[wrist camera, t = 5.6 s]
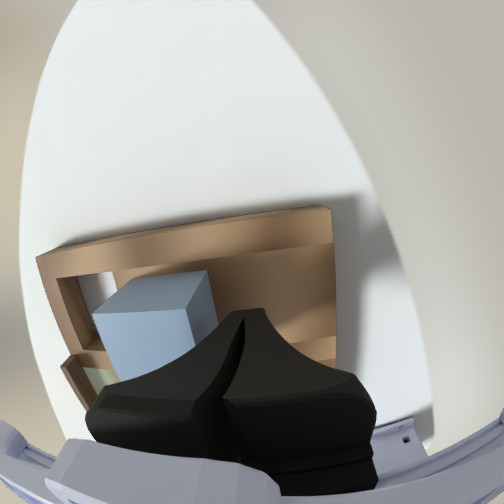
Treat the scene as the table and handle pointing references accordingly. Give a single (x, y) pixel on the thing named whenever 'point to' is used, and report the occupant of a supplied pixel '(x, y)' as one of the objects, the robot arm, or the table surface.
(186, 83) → the table surface
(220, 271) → the brown compartment tray
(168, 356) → the slate block
